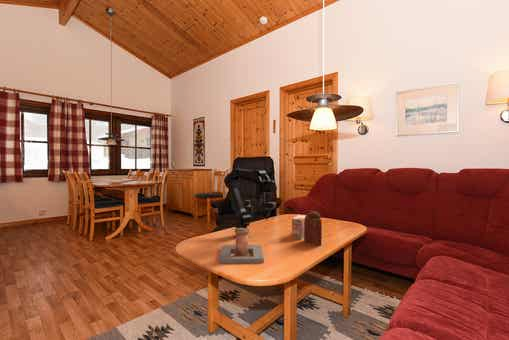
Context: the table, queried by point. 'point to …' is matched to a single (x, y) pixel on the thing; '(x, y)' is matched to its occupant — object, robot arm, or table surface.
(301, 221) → the stack of blocks
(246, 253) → the cord spool
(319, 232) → the wooden figurine
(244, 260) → the gray square frame
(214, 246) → the table surface
